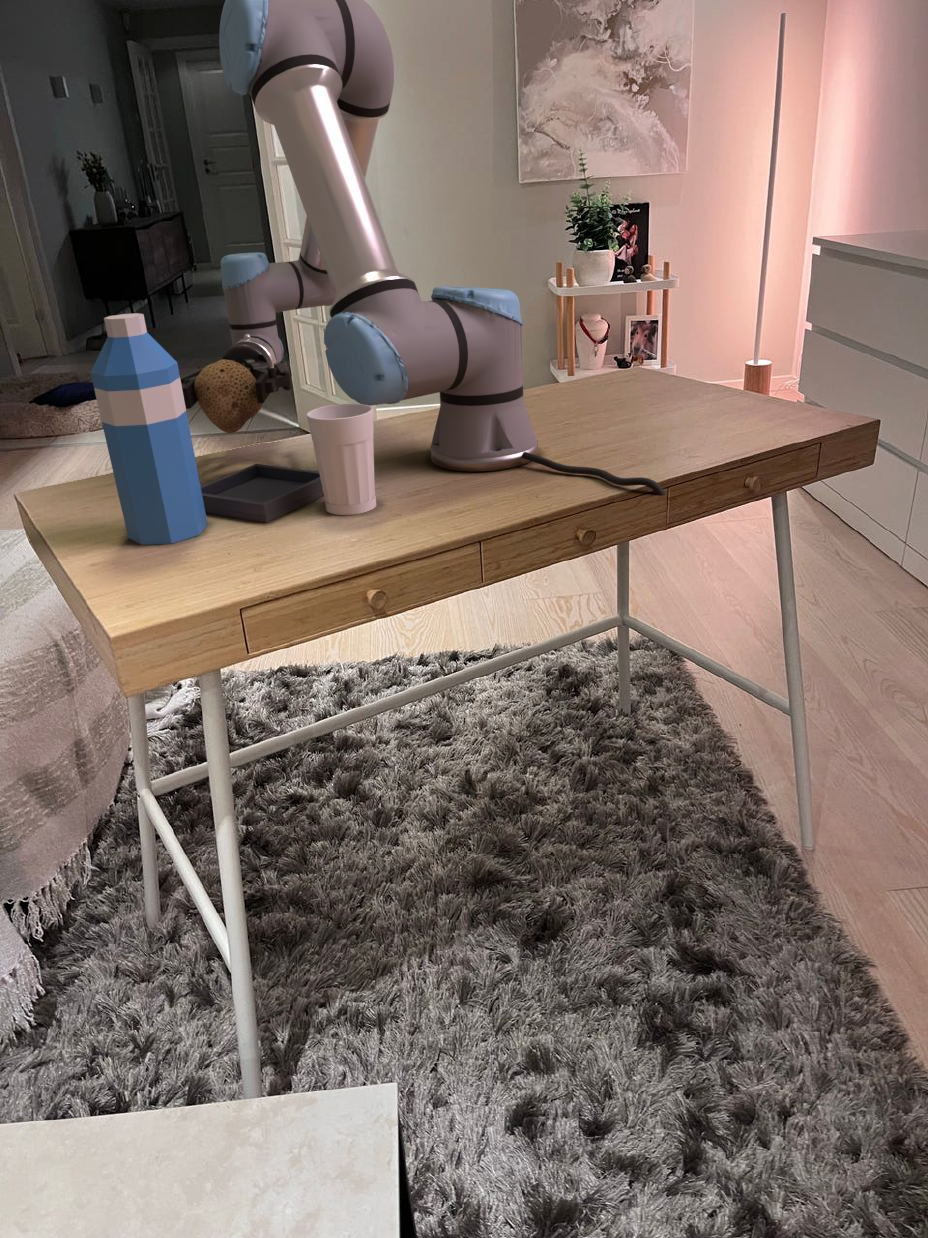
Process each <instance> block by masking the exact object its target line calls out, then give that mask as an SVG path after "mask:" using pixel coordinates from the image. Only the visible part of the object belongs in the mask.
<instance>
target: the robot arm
mask: <svg viewBox="0 0 928 1238" xmlns="http://www.w3.org/2000/svg"><path fill="white" fill-rule="evenodd" d="M218 40H219V43H218V44H219V47H218V48H219V58H220V64H221V70H222V74H223V78H224V80H225V83H226V84H227V87H228V88H229V89H230V90H231V91H233V92H234V93H235V94H239V95H240V96H246V95H247V94H248V95H249V96H250V98H251V101H252V103H253V106H254V109H255V110H256V114H257V116H258V117H259V118H260V119H261V120H262V121H264V122H265V123H267V124H270V125H272V126H273V127H274V130H275V133H276V135H277V138H278V140H279V144H280V146H281V149H282V152H283V155H284V157H285V161H286V162H287V165H288V168H289V171H290V174H291V177H292V179H293V182H294V185H295V187H296V191H297V193H298V195H299V199H300V201H301V204H302V207H303V209H304V212H305V215H306V218H305V223H304V228H303V234H302V239H301V244H300V245H301V246H300V251H299V255H298V259H297V260H291V261H281V262H278V261H277V262H269V260H268V257H267V255H266V253H265V252H255V251H254V252H245V253H244V252H242V253H240V252H239V253H233V254H232V253H231V254H227V255H225V256H223V257H222V258H221V260H220V276H221V283H222V284H221V287H222V291H223V296H224V301H225V306H226V311H227V312H226V313H227V317H228V323H229V331H230V337H231V343H232V345H231V346H230V347H229V348H228V349H227V350H226V351H225V352H224V354H223V355H222V357H221V359H220V360H222V359H226V360H231V361H235V362H237V363H239V364H241V365H243V366H244V367H245V368H247V369H248V370H249V371H250V372H251V374H252V375H253V376H254V378H255V379H256V383H255V386H256V393H257V399H258V403H263V404H264V403H265V402H266V400H267V398H268V397H269V396H270V395H271V394H272V393H273V394H274V393H277V392H278V391H280V389H279V388H282V389H283V390H284V391H291V390H292V389H293V386H292V380H291V373H290V370H289V369H288V362H287V360H283V359H284V345H283V343H282V339H280V337H279V333H278V327H277V325H278V324H277V317H276V316H277V315H276V313H281V312H289V311H294V310H302V309H308V308H309V309H310V308H317V307H318V308H319V307H324V306H325V307H329V317H330V319H329V321H327V323H326V325H325V329H324V333H323V344H324V345H325V348H326V349H325V351H324V353H325V358H326V362H327V364H328V367H329V369H330V372H331V374H332V376H333V378H334V380H335V382H336V383H337V385H338V387H339V388H340V389H341V390H342V391H343V392H344V394H346V396H347V397H348V398H350V399H351V400H354V401H355V402H356V403H357V404H364V405H369V406H371V407H373V406H378V405H396V404H398V403H400V402H401V401H407V400H411V399H415V398H419V397H424V396H429V395H434V394H438V393H439V404H440V405H439V411H438V414H437V419H436V423H435V427H434V431H433V435H432V440H431V445H430V458H431V462H432V463H433V464H434V465H436V466H438V467H440V468H443V469H446V470H452V471H460V472H490V471H499V470H507V469H511V468H515V467H519V466H523V465H525V464H528V463H530V462H532V463H535V464H538V465H542V466H544V467H547V468H550V469H552V470H554V471H556V472H561V473H567V474H574V475H589V476H596V477H599V478H601V479H603V480H606V481H607V482H609V483H611V484H613V485H617V486H622V487H630V486H631V487H632V486H645V487H648V488H649V489H651V490H652V491H654V493H655V494H656V495H658V496H667V493H666V491H665V490H664V488H663V487H662V486H661V485H660V484H659V483H658V482H656V481H655V480H653V479H651V478H649V477H648V478H647V477H641V476H640V477H638V476H637V477H636V476H635V477H620V476H617V475H614V474H612V473H610V472H609V471H607V470H604V469H601V468H596V467H589V466H575V465H565V464H562V463H559V462H556V461H553V460H551V459H548V458H546V457H543V456H539V440H538V437H537V434H536V431H535V429H534V425H533V422H532V420H531V418H530V415H529V412H528V409H527V406H526V404H525V403H526V402H525V401H524V400H525V399H524V376H523V373H524V372H523V370H524V369H523V335H522V334H523V330H522V329H523V320H522V315H521V314H522V313H521V306H520V305H521V303H520V299H519V297H518V296H517V294H516V293H515V292H513V291H512V290H511V289H510V290H509V289H504V288H503V289H501V288H489V287H476V286H475V287H472V286H448V285H447V286H444V285H443V286H435V287H433V289H432V294H431V295H430V297H431V298H430V299H431V300H425V301H423V300H422V299H421V296H420V293H419V290H418V287H417V285H416V283H415V281H414V279H413V278H411V277H409V276H407V275H405V274H403V273H400V272H399V270H398V267H397V265H396V262H395V259H394V256H393V254H392V253H393V252H392V251H391V248H390V246H389V243H388V239H387V237H386V234H385V232H384V228H383V226H382V223H381V221H380V217H379V215H378V212H377V210H376V206H375V204H374V201H373V198H372V196H371V193H370V190H369V186H368V185H367V184H368V183H367V182H366V176H367V172H368V168H369V163H370V160H371V155H372V151H373V148H374V147H373V146H374V142H375V137H376V133H377V129H378V125H379V120H380V119H383V118H384V117H386V115H388V113H389V109H390V105H391V101H392V96H393V92H394V83H395V66H394V55H393V51H392V45H391V42H390V38H389V36H388V33H387V31H386V29H385V27H384V24H383V23H382V20H381V18H380V17H379V16H378V14H377V13H376V12H375V10H374V9H373V8H372V6H371V5H370V4H369V3H368V2H367V1H366V0H225V1H224V4H223V7H222V11H221V15H220V22H219V39H218ZM204 368H205V367H203V366H197V367H194V370H191V371H189V372H187V373H184V374H183V375H180V380H181V385H182V391H183V396H184V401H185V407H186V410H189V409H192V408H193V407H194V405H196V403H197V402H198V400H197V398H196V395H195V391H194V384H195V380H196V378H197V376H198V375H199V373H200V372H201V371H202V369H204Z"/></svg>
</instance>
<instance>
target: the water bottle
mask: <svg viewBox="0 0 928 1238" xmlns="http://www.w3.org/2000/svg"><path fill="white" fill-rule="evenodd" d="M103 322H104V324H105V330H106V334H107V337H106V339H105V342H104V344H103V346H102V347H101V350H100V352H99V354H98V356H97V358H96V360H95V362H94V364H93V367H92V369H91V370H90V376H91V380H92V381H91V382H92V384H93V389H94V394H95V398H96V403H97V407H98V408H97V409H98V411H99V416H100V420H101V425H102V430H103V434H104V437H105V443H106V447H107V451H108V455H109V460H110V464H111V469H112V473H113V477H114V482H115V486H116V489H117V495H118V499H119V500H118V501H119V503H120V508H121V513H122V517H123V521H124V526H125V528H126V529H125V530H126V535H127V538H128V539H129V540H131V541H133V542H135V543H137V544H139V545H141V546H149V545H172V544H175V543H179V542H181V541H185V540H188V539H190V538H195V537H197V536H200V535H201V534H202V533H203V531H204V530H205V529H206V528H207V526H208V525H209V524H208V519H207V513H205V508H204V502H203V497H202V492H201V486H202V485H201V482H200V476H199V471H198V465H197V459H196V456H195V455H196V454H195V449H194V445H193V439H192V434H191V429H190V422H189V417H188V412H187V409H186V407H185V401H184V396H183V391H182V385H181V380H180V376H181V375H180V369H179V364H178V362H177V360H175V359H174V358H173V356H172V355H171V354H170V353H169V352H168V351H167V350H165V349H164V347H163V346H161V344H160V343H159V342H157V340H156V339H155V338H153V336H151V334H149V332H148V331H147V325H146V320H145V315H144V313H138V312H135V313H122V314H121V313H120V314H117V315H114V314H113V315H108V316H106V317H104V318H103Z"/></svg>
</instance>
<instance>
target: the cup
mask: <svg viewBox="0 0 928 1238" xmlns="http://www.w3.org/2000/svg"><path fill="white" fill-rule="evenodd" d="M306 418H307V423H308V428H309V432H310V436H311V440H312V446H313V449H314V454H315V459H316V464H317V468H318V472H319V474H320V479H321V483H322V488H323V493H324V496H323V497H324V504H325V505H324V506H325V511H326V512H327V513H329V514H332V515H336V516H352V515H360V514H363V513H367V512H370V511H372V510H373V509H375V508H376V507H377V497H376V495H377V494H376V489H375V488H376V487H375V456H374V455H375V454H374V453H375V452H374V451H375V450H374V434H375V433H374V432H375V431H374V427H375V425H374V408H373V406H369V405H364V404H360V403H338V404H331V405H324V406H320V407H316V408H314V409H312V410H309V411H308V412H307V413H306Z"/></svg>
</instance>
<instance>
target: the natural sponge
mask: <svg viewBox="0 0 928 1238" xmlns="http://www.w3.org/2000/svg"><path fill="white" fill-rule="evenodd" d="M221 359H222V358H221ZM221 359H219V360H217V361H216V362H213V363H210V364H208V365H206V366H205V367H203V368H204V369H202V371H201V372H200V373H199V375H198V376H197V378H196V380H195V384H194V391H195V395H196V398H197V400H198V401H197V402H198V404H199V406H200V408H201V410H202V412H203V413H204V415H205V416H206V417H207V419H208V420H209V421H210V422H211V423H212V424H213V425H214V426H215V427H216V428H217V429H219V430H221V432H224V433H227V434H233V433H236V432H238V431H239V430H241V429H242V428H243V427H244V425H245V424H246V423H247V421H249V420H250V419H252V418H253V417H255V416H256V415H257V414H258V413H259V412H260V411H261V409H262V407H263V405H264V403H258V399H257V393H256V386H255V383H256V379H255V378H254V376H253V375H252V374H251V372H250V371H249V370H248V369H247V368H245V367H244V366H243V365H241V364H239V363H237V362H235V361H231V360H226V359H222V360H221Z"/></svg>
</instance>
